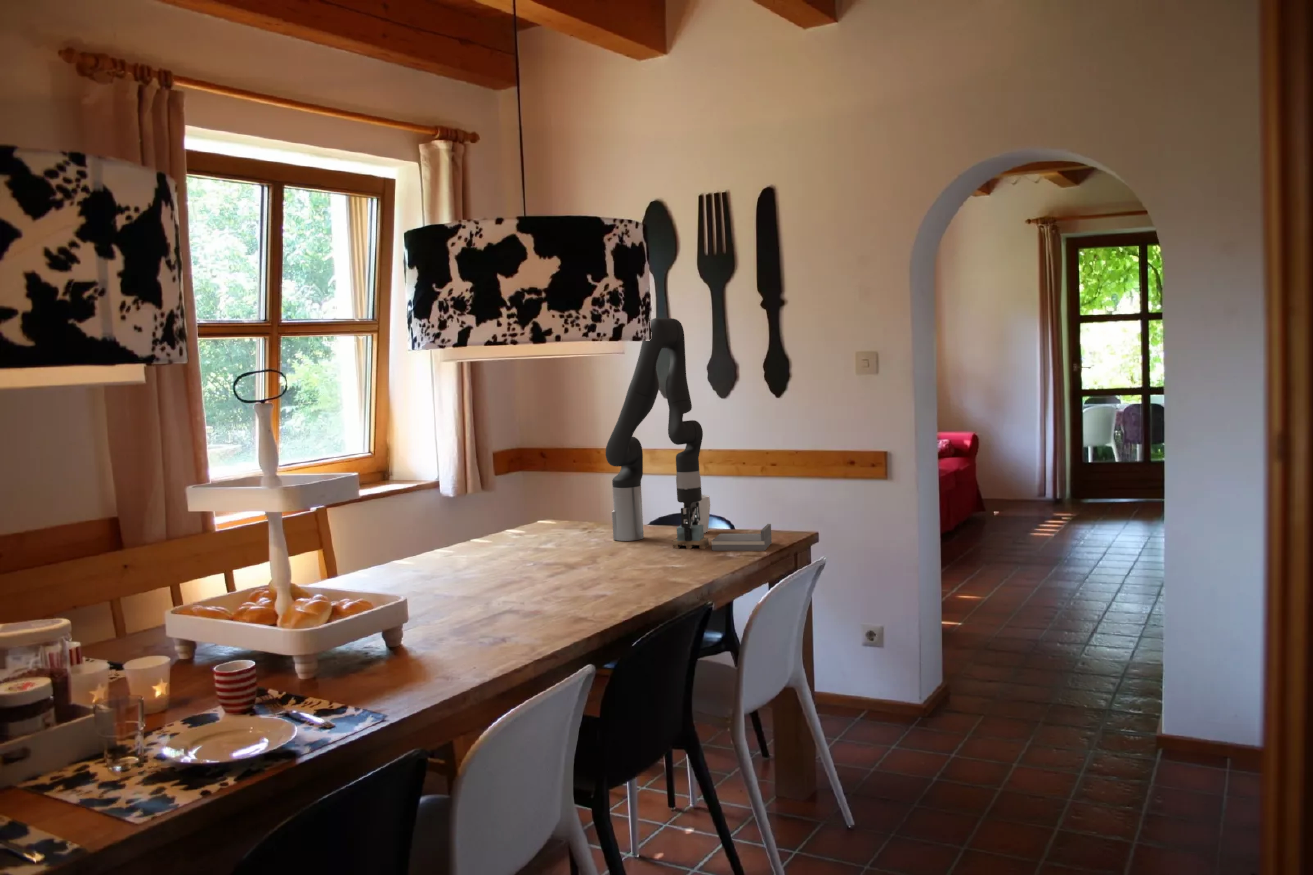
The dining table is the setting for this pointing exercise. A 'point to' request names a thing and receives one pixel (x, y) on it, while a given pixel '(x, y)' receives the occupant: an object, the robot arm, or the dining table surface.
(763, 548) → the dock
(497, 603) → the dining table surface
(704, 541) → the pallet
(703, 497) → the cup
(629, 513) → the robot arm
